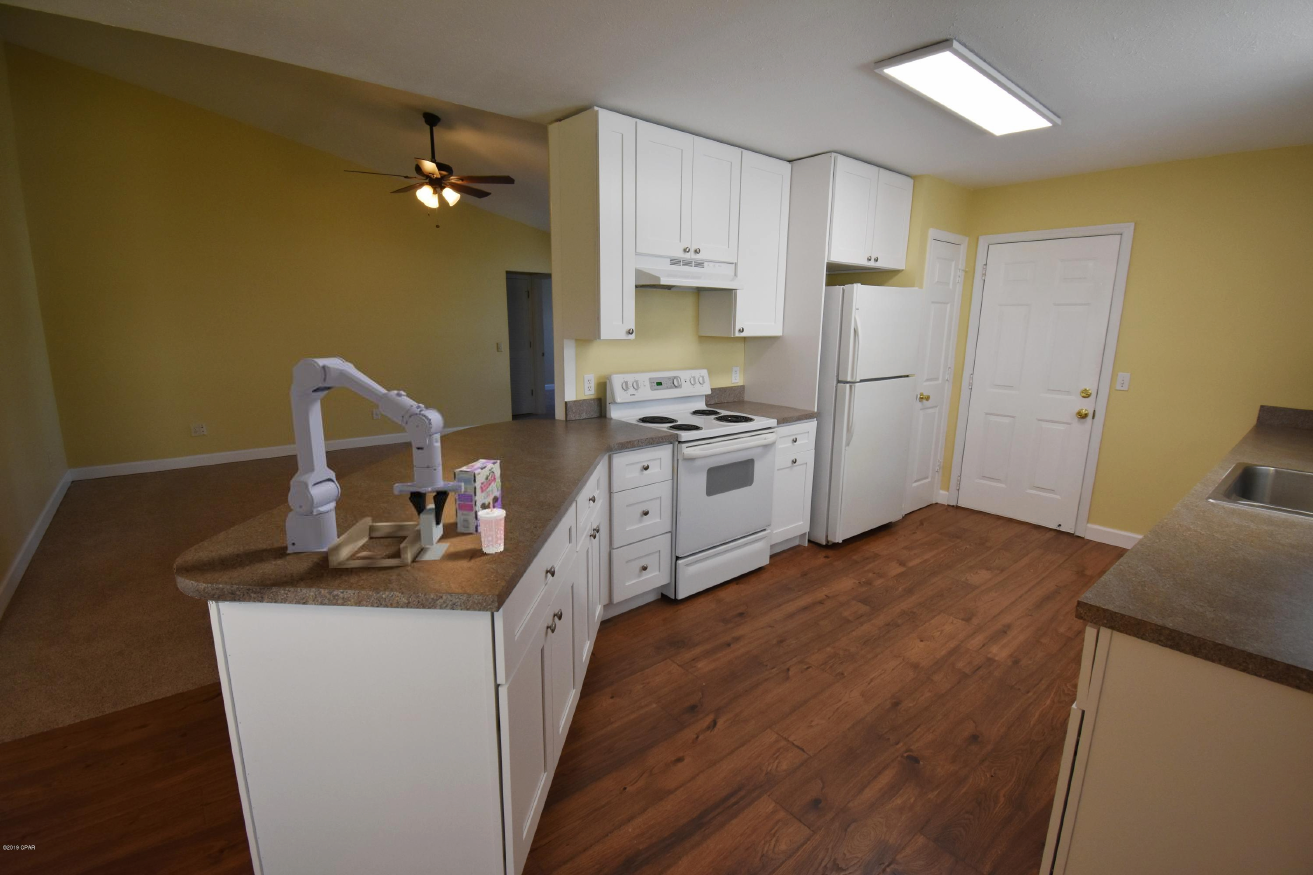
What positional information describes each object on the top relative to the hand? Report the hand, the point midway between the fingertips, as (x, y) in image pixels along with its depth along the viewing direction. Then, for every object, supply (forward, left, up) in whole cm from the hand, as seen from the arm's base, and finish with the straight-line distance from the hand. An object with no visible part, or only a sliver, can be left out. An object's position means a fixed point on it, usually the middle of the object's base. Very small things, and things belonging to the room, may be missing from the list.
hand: (431, 523), depth 127 cm
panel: (0, 0, -4) cm, 4 cm away
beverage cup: (+13, +2, -7) cm, 15 cm away
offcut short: (-12, -4, -7) cm, 14 cm away
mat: (0, 0, -7) cm, 7 cm away
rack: (-11, +3, -7) cm, 13 cm away
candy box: (+7, +19, -7) cm, 21 cm away
